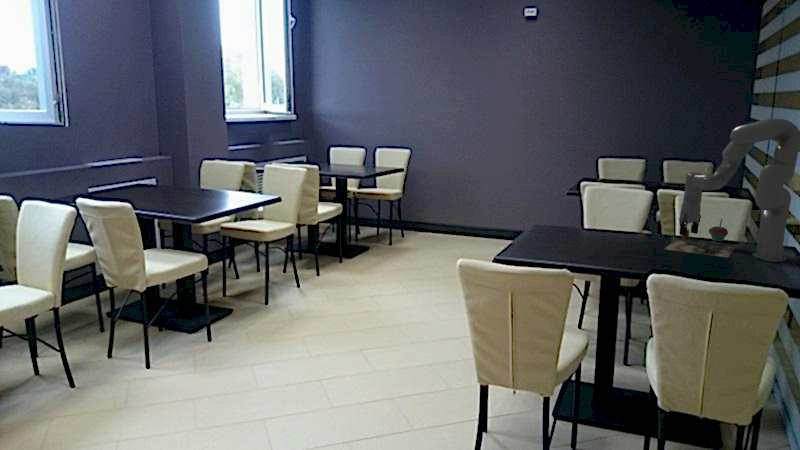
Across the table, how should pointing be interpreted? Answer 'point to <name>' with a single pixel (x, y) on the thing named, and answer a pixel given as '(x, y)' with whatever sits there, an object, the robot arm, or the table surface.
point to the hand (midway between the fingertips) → (688, 234)
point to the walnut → (706, 247)
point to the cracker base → (690, 248)
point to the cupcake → (718, 233)
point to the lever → (686, 239)
